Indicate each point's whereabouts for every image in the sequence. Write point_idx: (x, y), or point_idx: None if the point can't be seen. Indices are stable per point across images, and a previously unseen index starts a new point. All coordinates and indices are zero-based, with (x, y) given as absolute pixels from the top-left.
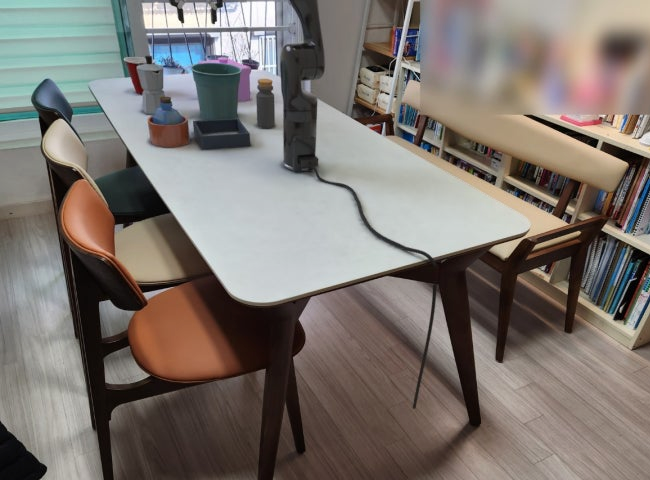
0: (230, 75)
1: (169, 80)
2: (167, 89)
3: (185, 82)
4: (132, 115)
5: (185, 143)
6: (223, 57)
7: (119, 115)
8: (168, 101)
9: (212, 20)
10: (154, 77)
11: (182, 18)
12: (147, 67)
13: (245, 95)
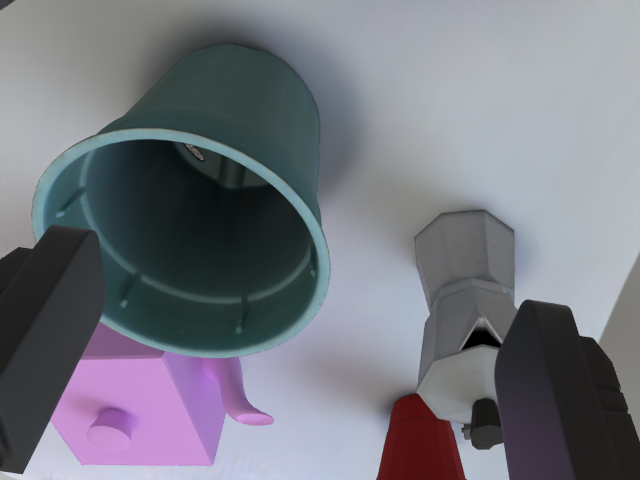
0: (119, 128)
1: (301, 470)
2: (335, 414)
3: (258, 448)
4: (568, 234)
5: None
6: (104, 446)
7: (613, 247)
8: None
9: (74, 262)
10: (489, 322)
11: (566, 348)
12: None
13: None
